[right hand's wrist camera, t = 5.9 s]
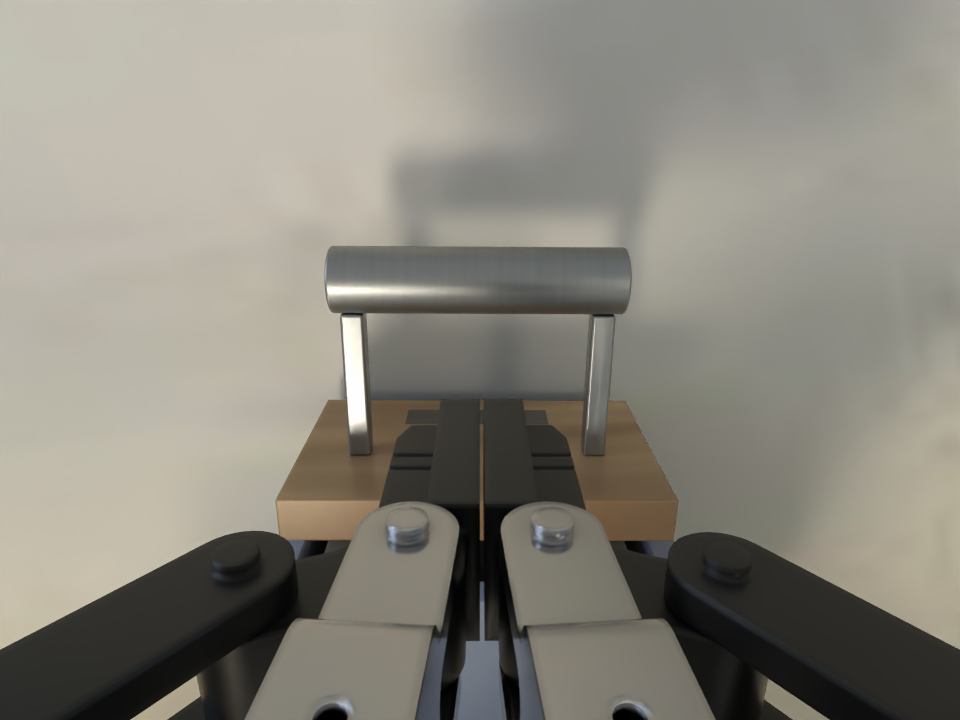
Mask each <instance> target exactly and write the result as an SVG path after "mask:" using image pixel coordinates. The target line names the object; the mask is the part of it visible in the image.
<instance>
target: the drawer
mask: <svg viewBox="0 0 960 720" xmlns="http://www.w3.org/2000/svg"><path fill="white" fill-rule="evenodd" d="M631 277H632V276H631V262H630V257H629V253H628V251H627V249H625V248H601V247H416V246H332V247H330V248H329V250H328V252H327V256H326V262H325V292H326V299H327V303H328V306H329V309H330V311H331V312H333V313H342V314H341V316H340V324H341V338H342V353H343V368H344V382H345V397H346V400H328V402H327V404H326V406H325V408H324V409H323V411H322V413H321V415H320V417H319V419H318V421H317V423H316V425H315V426H314V428H313V430H312V432H311V434H310V436H309V438H308V440H307V442H306V443H305V445H304V447H303V449H302V451H301V453H300V455H299V457H298V459H297V460H296V462H295V464H294V466H293V468H292V470H291V472H290V474H289V476H288V477H287V479H286V481H285V483H284V485H283V487H282V489H281V491H280V493H279V494H278V496H277V498H276V509H277V518H278V527H279V535H280V536H281V537H284V538H285V539H286V540H329V541H328V544H327V546H326V549H325V552H324V553H328V552H332V551H335V550H338V549H341V548H344V547H346V546H348V545H350V542H351V540H352V538H353V535H354V533H355V531H356V528H357V526H358V525H359V523H360V522H361V520H362V519H363V518H364V517H365V516H367V515H368V514H369V513H371V512H373V511H374V510H376V509H378V508H379V505H380V501H381V497H382V493H383V489H384V486H385V482H386V478H387V474H388V470H389V466H390V462H391V458H392V457H393V451H394V447H395V443H396V439H397V438H398V437H399V436H400V435H401V434H402V433H403V432H404V431H406V430H407V429H408V428H409V427H410V426H411V425H437V423H438V416H439V408H440V401H441V400H371V393H370V375H369V356H368V338H367V319H366V313H431V314H589V328H588V343H587V359H586V374H585V389H584V401H523V405H524V411H525V418H526V425H552V426H554V427H555V428H556V429H557V430H558V431H559V432H560V433H562V434H563V435H564V436H565V437H566V438H567V441H568V444H569V448H570V452H571V457H572V459H573V463H574V469H575V470H576V474H577V478H578V481H579V485H580V489H581V492H582V496H583V500H584V504H585V507H586V511H587V512H589V513H591V514H592V515H593V516H595V517H596V518H597V519H598V520H599V522H600V523H601V525H602V526H603V528H604V531H605V533H606V535H607V538H608V540H609V541H610V542H611V543H613V544H615V545H617V546H620V547H622V548H624V549H627V547H626V544H625V542H624V541H673V539H674V532H675V524H676V516H677V508H678V499H677V497H676V496H675V494H674V492H673V490H672V488H671V486H670V484H669V483H668V481H667V479H666V477H665V475H664V473H663V471H662V469H661V468H660V466H659V464H658V462H657V460H656V458H655V456H654V455H653V453H652V451H651V449H650V447H649V445H648V443H647V441H646V440H645V438H644V436H643V434H642V432H641V430H640V428H639V427H638V425H637V423H636V421H635V419H634V417H633V415H632V414H631V412H630V410H629V408H628V406H627V404H626V402H625V401H609V394H610V381H611V368H612V356H613V343H614V331H615V316H614V314H623V313H625V311H626V309H627V307H628V304H629V299H630V293H631ZM480 582H484V530H483V400H480Z"/></svg>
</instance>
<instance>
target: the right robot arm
mask: <svg viewBox="0 0 960 720" xmlns="http://www.w3.org/2000/svg"><path fill="white" fill-rule="evenodd" d="M483 530H484V641H499V695H500V703H501V711H502V719H503V720H792V719H791V718H789V717H788V716H787V715H785V714H784V713H782V712H781V711H779V710H778V709H777V708H775V707H774V706H772V705H771V704H769V703H768V702H767V701H765V700H764V696H765V691H766V686H767V681H768V679H770V680H771V681H773V682H774V683H776V684H777V685H779V686H780V687H782V688H783V689H785V690H786V691H788V692H789V693H791V694H792V695H794V696H795V697H797V698H798V699H800V700H801V701H803V702H804V703H806V704H807V705H809V706H810V707H812V708H813V709H815V710H816V711H818V712H819V713H821V714H822V715H824V716H825V717H827V718H828V719H830V720H960V650H959V649H957V648H955V647H953V646H951V645H949V644H947V643H946V642H944V641H942V640H940V639H938V638H936V637H934V636H932V635H930V634H928V633H926V632H924V631H922V630H920V629H919V628H917V627H915V626H913V625H911V624H909V623H907V622H905V621H903V620H901V619H899V618H897V617H895V616H893V615H892V614H890V613H888V612H886V611H884V610H882V609H880V608H878V607H876V606H874V605H872V604H870V603H868V602H866V601H865V600H863V599H861V598H859V597H857V596H855V595H853V594H851V593H849V592H847V591H845V590H843V589H841V588H839V587H838V586H836V585H834V584H832V583H830V582H828V581H826V580H824V579H822V578H820V577H818V576H816V575H814V574H812V573H811V572H809V571H807V570H805V569H803V568H801V567H799V566H797V565H795V564H793V563H791V562H789V561H787V560H785V559H783V558H782V557H780V556H778V555H776V554H774V553H772V552H770V551H768V550H766V549H764V548H762V547H760V546H758V545H756V544H754V543H752V542H750V541H748V540H745V539H742V538H739V537H736V536H732V535H728V534H722V533H712V532H703V533H694V534H690V535H687V536H684V537H682V538H680V539H678V540H677V541H675V542H674V543H673V544H672V546H671V547H670V549H669V552H668V559H666V558H661V557H656V556H651V555H646V554H642V553H638V552H634V551H630V550H627V549H624V548H622V547H620V546H617V545H615V544H613V543H611V542H610V541H609V540H608V538H607V535H606V533H605V531H604V528H603V526H602V525H601V523H600V522H599V520H598V519H597V518H596V517H595V516H593V515H592V514H591V513H589V512H587V511H586V507H585V504H584V500H583V496H582V492H581V489H580V485H579V481H578V478H577V474H576V470H575V469H574V463H573V459H572V457H571V452H570V448H569V444H568V441H567V438H566V437H565V436H564V435H563V434H562V433H560V432H559V431H558V430H557V429H556V428H555V427H554V426H552V425H526V418H525V411H524V405H523V399H483ZM466 641H480V399H441V401H440V408H439V416H438V423H437V425H411V426H410V427H409V428H408V429H407V430H406V431H404V432H403V433H402V434H401V435H400V436H399V437H398V438H397V439H396V443H395V447H394V451H393V457H392V458H391V462H390V466H389V470H388V474H387V478H386V482H385V486H384V489H383V493H382V497H381V501H380V505H379V508H378V509H376V510H374V511H373V512H371V513H369V514H368V515H367V516H365V517H364V518H363V519H362V520H361V522H360V523H359V525H358V526H357V528H356V531H355V533H354V535H353V538H352V540H351V542H350V545H348V546H346V547H344V548H341V549H338V550H335V551H332V552H328V553H324V554H320V555H315V556H310V557H305V558H300V559H296V560H295V553H294V549H293V546H292V545H291V544H290V542H289V541H288V540H286V539H285V538H284V537H281V536H279V535H277V534H274V533H270V532H264V531H245V532H238V533H233V534H229V535H225V536H222V537H219V538H217V539H214V540H212V541H210V542H208V543H205V544H204V545H202V546H200V547H198V548H196V549H194V550H192V551H190V552H188V553H186V554H184V555H182V556H180V557H178V558H177V559H175V560H173V561H171V562H169V563H167V564H165V565H163V566H161V567H159V568H157V569H155V570H153V571H151V572H150V573H148V574H146V575H144V576H142V577H140V578H138V579H136V580H134V581H132V582H130V583H128V584H126V585H124V586H123V587H121V588H119V589H117V590H115V591H113V592H111V593H109V594H107V595H105V596H103V597H101V598H99V599H97V600H96V601H94V602H92V603H90V604H88V605H86V606H84V607H82V608H80V609H78V610H76V611H74V612H72V613H70V614H69V615H67V616H65V617H63V618H61V619H59V620H57V621H55V622H53V623H51V624H49V625H47V626H45V627H43V628H41V629H40V630H38V631H36V632H34V633H32V634H30V635H28V636H26V637H24V638H22V639H20V640H18V641H16V642H14V643H13V644H11V645H9V646H7V647H5V648H3V649H1V650H0V720H130V719H132V718H133V717H135V716H136V715H138V714H139V713H141V712H142V711H144V710H145V709H147V708H148V707H150V706H151V705H153V704H154V703H156V702H157V701H159V700H160V699H162V698H163V697H165V696H166V695H168V694H169V693H171V692H172V691H174V690H175V689H177V688H178V687H180V686H181V685H183V684H184V683H186V682H187V681H189V680H190V679H192V678H193V677H195V676H196V675H197V680H198V685H199V690H200V695H201V697H199V698H198V699H196V700H195V701H193V702H192V703H191V704H189V705H188V706H186V707H185V708H183V709H182V710H181V711H179V712H178V713H176V714H175V715H173V716H172V717H171V718H169V719H168V720H457V719H458V711H459V703H460V695H461V672H462V670H463V667H464V664H465V658H466Z"/></svg>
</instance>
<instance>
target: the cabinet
mask: <svg viewBox="0 0 960 720" xmlns="http://www.w3.org/2000/svg"><path fill="white" fill-rule="evenodd" d="M288 541H289V542H290V544H291V545H292V546H293V549H294V553H295V560H296V559H300V558H305V557H310V556H315V555H320V554H324V552H325V549H326V546H327V544H328V541H329V540H288ZM624 542H625V544H626V547H627V550H630V551H634V552H638V553H642V554H646V555H651V556H656V557H661V558H666V559H668V552H669V549H670V547H671V546H672V544H673V543H674V541H624ZM457 720H503V719H502V711H501V703H500V695H499V641H484V582H480V641H466V658H465V664H464V667H463V670H462V672H461V695H460V703H459V711H458V719H457Z"/></svg>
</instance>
